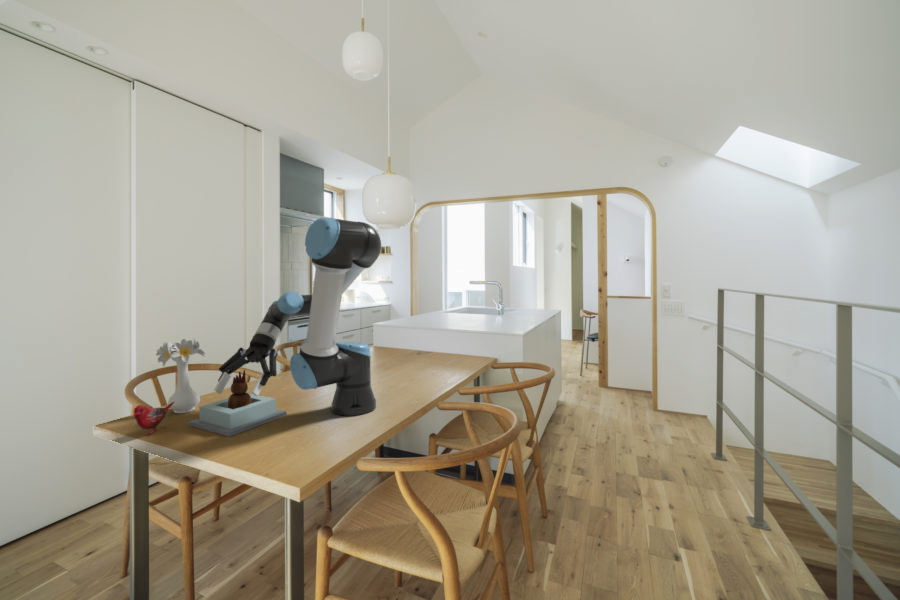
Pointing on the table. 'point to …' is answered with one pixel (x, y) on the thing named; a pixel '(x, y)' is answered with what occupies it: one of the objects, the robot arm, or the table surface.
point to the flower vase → (181, 373)
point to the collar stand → (237, 415)
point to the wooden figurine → (239, 393)
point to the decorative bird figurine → (149, 416)
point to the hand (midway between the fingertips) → (235, 393)
